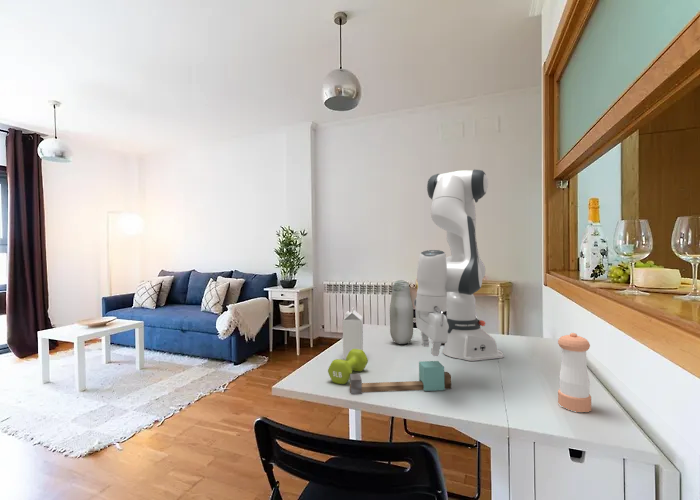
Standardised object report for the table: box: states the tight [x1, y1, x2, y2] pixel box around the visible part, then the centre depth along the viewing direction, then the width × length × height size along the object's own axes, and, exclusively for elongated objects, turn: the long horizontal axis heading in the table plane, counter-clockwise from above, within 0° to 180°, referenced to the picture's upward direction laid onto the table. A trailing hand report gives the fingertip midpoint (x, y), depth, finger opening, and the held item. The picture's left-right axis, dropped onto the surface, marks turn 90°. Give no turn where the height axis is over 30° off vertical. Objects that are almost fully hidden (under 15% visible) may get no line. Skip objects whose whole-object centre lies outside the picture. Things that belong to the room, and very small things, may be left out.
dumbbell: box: [327, 349, 369, 385], centre depth 114 cm, size 16×8×7 cm, turn 153°
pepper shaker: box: [557, 332, 592, 413], centre depth 90 cm, size 7×7×19 cm
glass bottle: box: [389, 279, 414, 345], centre depth 154 cm, size 10×10×28 cm
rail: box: [349, 371, 452, 395], centre depth 103 cm, size 30×5×4 cm, turn 94°
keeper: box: [418, 360, 446, 392], centre depth 104 cm, size 6×6×7 cm
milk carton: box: [342, 306, 364, 360], centre depth 135 cm, size 7×7×19 cm
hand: (430, 350), depth 104 cm, fingers open, 8 cm apart
